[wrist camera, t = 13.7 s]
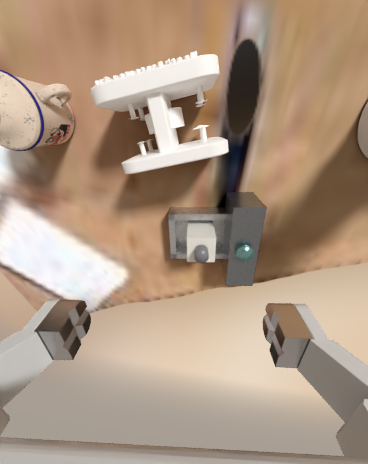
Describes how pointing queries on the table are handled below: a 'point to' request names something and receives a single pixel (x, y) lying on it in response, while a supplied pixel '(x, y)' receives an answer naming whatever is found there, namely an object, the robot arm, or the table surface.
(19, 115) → the teacup with lid
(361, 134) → the robot arm
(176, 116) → the cable organizer
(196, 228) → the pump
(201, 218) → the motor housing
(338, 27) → the table surface
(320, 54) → the table surface
